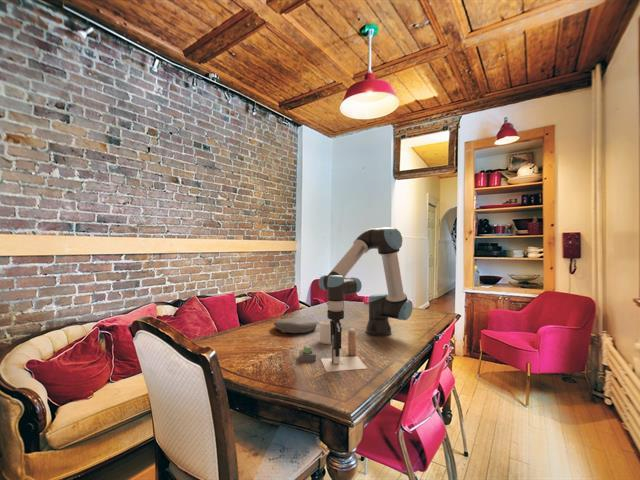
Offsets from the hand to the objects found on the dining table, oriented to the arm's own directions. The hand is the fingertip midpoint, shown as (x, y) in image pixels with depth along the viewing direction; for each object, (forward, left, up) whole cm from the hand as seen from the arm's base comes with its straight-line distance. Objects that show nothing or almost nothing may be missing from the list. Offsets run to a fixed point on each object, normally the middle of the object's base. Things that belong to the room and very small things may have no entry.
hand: (335, 361), depth 137 cm
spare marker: (-10, -9, -1) cm, 14 cm away
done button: (+12, -8, 0) cm, 14 cm away
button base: (+12, -8, -1) cm, 14 cm away
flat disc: (+13, -58, -2) cm, 60 cm away
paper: (-3, +1, -1) cm, 3 cm away
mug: (-3, -29, -1) cm, 29 cm away
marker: (0, 0, -1) cm, 1 cm away
